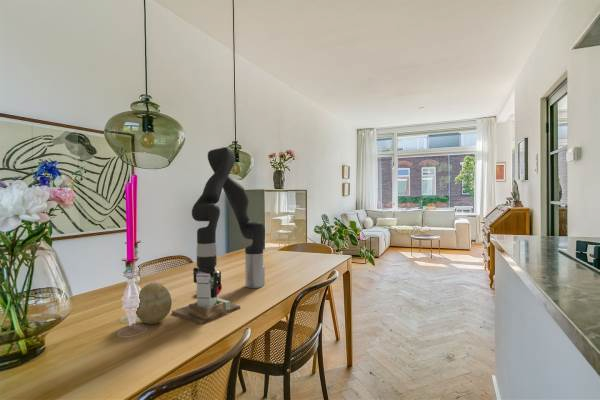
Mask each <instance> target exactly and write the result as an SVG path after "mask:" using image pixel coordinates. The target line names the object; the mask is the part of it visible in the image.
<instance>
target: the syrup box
mask: <svg viewBox="0 0 600 400" xmlns="http://www.w3.org/2000/svg"><path fill="white" fill-rule="evenodd" d="M196 279H197V283H196V291H197V292H196V302H197V306H200V307H203V308H208V307H210V306H213V305H216V304H217V298H218V296H216V297H215V298H211V287H210V283H209V280H213V278H212V277H211V276H210V274H209V273H204V272H202V273H198V274H197V277H196ZM213 285H214V283H213Z"/></svg>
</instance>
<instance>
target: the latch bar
mask: <svg viewBox="0 0 600 400" xmlns="http://www.w3.org/2000/svg"><path fill="white" fill-rule="evenodd" d="M217 300H219V301H222V302H225V310H228V309H230V303H231V301H230V300H226V299H223V298H219V297H217Z"/></svg>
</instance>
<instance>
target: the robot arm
mask: <svg viewBox="0 0 600 400" xmlns="http://www.w3.org/2000/svg"><path fill="white" fill-rule="evenodd" d="M235 155H236V154H235V152H234V150H233V148H231V147H229V146H223V147H220V148H215V149H210V150H209V151H207V161H208V163H209V166H210V168H211V169H212V171H213V174H212V175H211V176H210V177H209V178H208V179H207V181H206V182H205V185H204V188H203V191H202V194H201V195H200V196H199V198H198V199H197V200H196V202H194V204H193V207H191V208H192V209H191V217H192V219H193V220H194V221H195V222H208V224H207V226H204V227H200V228H198V229H197V231H196V267H194V268H193V269H192V272H193V274H192V275H193V283H195V284H197V274H198V273H202V272H204V273H209V274H210V276H211V277H212V278H213V280H209V283H210V287H211V298H215V297H216V296H217V287H220V286H221V285H222V272H221V271H220V270H218V271H217V270H216V266H217V258H218V257H217V244H216V240H217V239H216V236H217V235H216V234H217V233H216V232H217V227H218V223H219V222H218V221H219V219H220V216H221V209H220V206H219V205H218V204H217V203H219V201H220V199H221V195H222V191H223V192H224V194H225V196H226V198H227V200H228V203H229V205H230V207H231V209H232V211H233V213H234V216H235V218H236V220H237V224H238V227H239V230H240V232H241V234H242V235H241V236H242V237H243V238H244V239H245V240H252V243H251V244H250V245H249V246H246V247H245V248H244V251H245V253H244V260H245V261H244V262H245V263H244V264H245V265H244V271H245V277H244V279H245V281H244V282H245V287H246V288H249V289H260V288H262V287H264V285H265V284H266V282H265V281H266V280H265V279H266V278H265V277H266V275H265V274H266V273H265V271H266V270H265V267H266V266H264V248H265V237H266V236H265V235H266V228H265V225H264V223H263V222H261V221H251V220H250V218H249V216H248V208H249V207H248V206H249V197H248V194H247V192H246V190H245V188H244V187H243V185H242V184H241V183H240V182H238V181H237V180H236V179H234V178H233V177H232V176H230V173H231V171H232V170H233V167H234V165H235V161H236V156H235ZM213 283H214V285H213ZM217 283H218V284H217ZM217 297H218V296H217Z"/></svg>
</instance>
